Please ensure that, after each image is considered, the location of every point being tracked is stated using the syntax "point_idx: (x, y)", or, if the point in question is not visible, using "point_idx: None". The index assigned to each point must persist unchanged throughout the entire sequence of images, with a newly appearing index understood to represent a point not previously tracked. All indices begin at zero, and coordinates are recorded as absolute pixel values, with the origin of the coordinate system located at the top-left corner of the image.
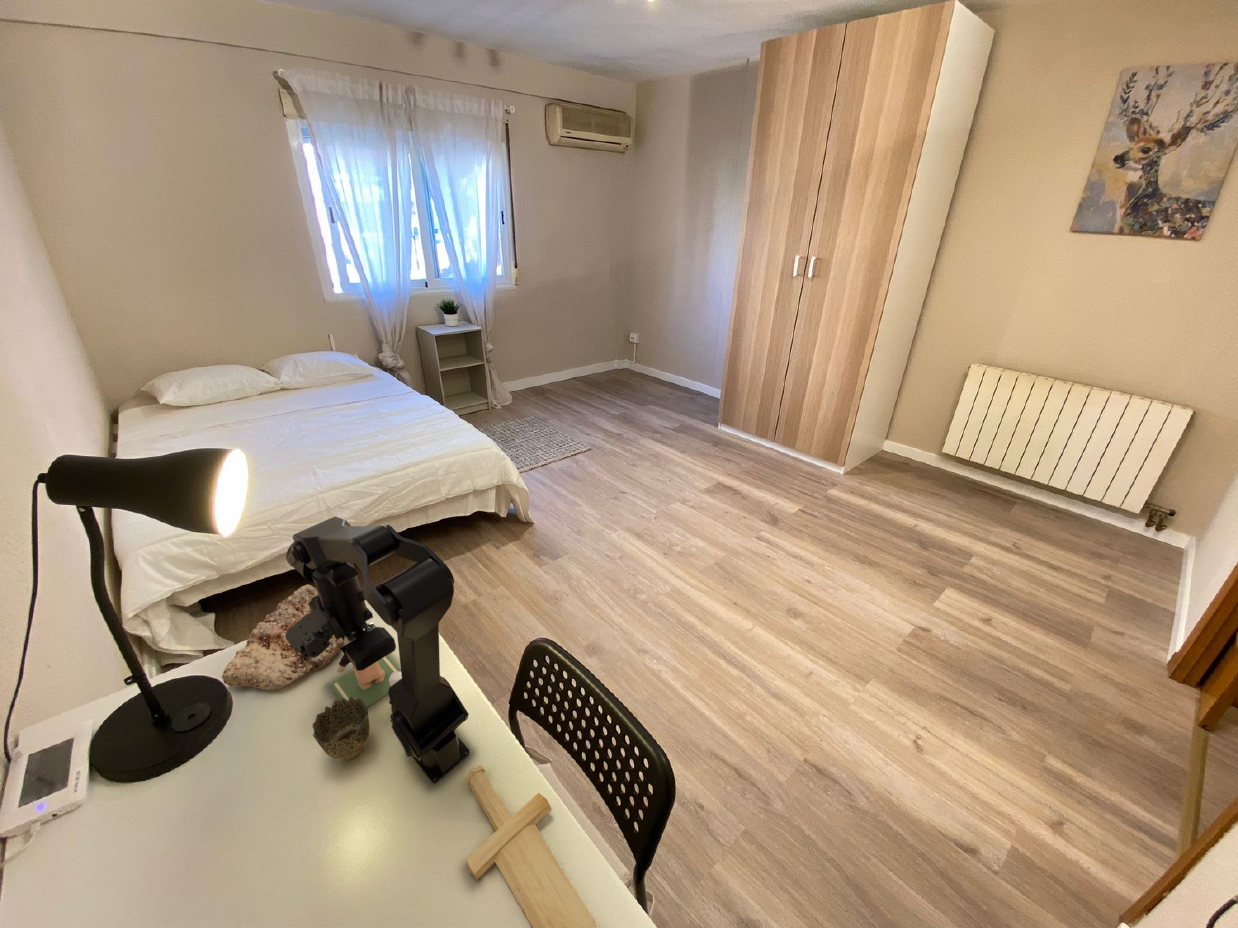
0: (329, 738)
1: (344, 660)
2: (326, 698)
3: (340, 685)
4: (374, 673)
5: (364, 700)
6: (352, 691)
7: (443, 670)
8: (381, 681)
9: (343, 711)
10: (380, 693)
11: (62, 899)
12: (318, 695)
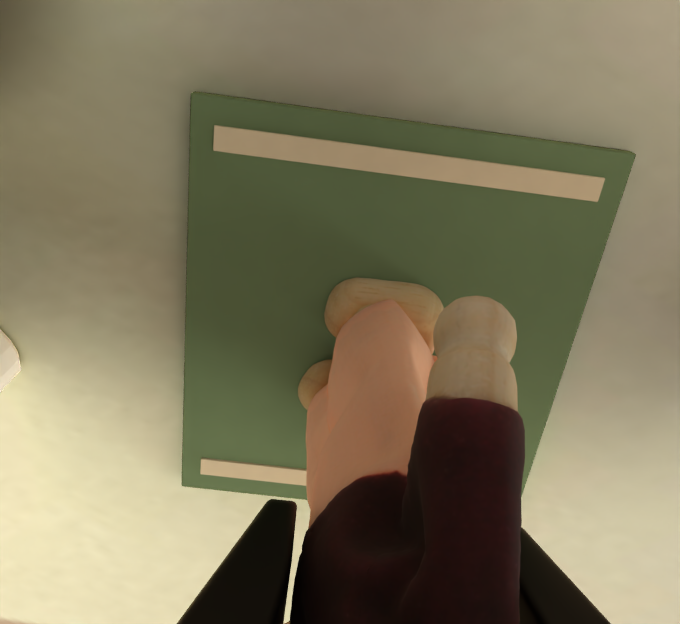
0: None
1: (436, 495)
2: (550, 61)
3: (545, 201)
4: (317, 428)
5: (256, 232)
6: (408, 225)
7: (90, 601)
8: (299, 388)
9: None
10: (217, 330)
11: None
12: (642, 34)
